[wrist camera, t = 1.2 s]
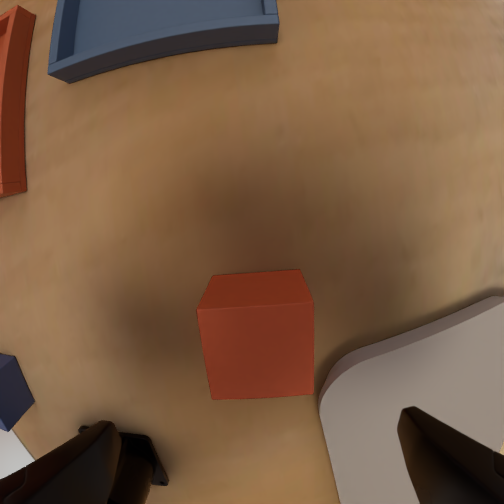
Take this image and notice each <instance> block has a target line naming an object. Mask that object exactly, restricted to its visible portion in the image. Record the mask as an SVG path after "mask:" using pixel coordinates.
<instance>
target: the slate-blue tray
mask: <svg viewBox="0 0 504 504" xmlns="http://www.w3.org/2000/svg"><path fill="white" fill-rule="evenodd" d="M278 30H279V17H278V10H277V3H276V0H58V2H57V7H56V13H55V18H54V24H53V30H52V37H51V45H50V53H49V63H48V65H49V66H48V75H50V76H53V77H55V78H58V79H60V80H62V81H65V82H67V83H72V82H75V81H78V80H81V79H83V78H86V77H89V76H93V75H96V74H99V73H102V72H105V71H109V70H112V69H116V68H119V67H123V66H127V65H131V64H134V63H138V62H143V61H147V60H151V59H156V58H160V57H165V56H170V55H175V54H181V53H187V52H193V51H199V50H206V49H213V48H221V47H230V46H239V45H251V44H266V43H277V38H278Z"/></svg>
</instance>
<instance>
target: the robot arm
mask: <svg viewBox="0 0 504 504" xmlns="http://www.w3.org/2000/svg"><path fill="white" fill-rule="evenodd" d="M78 431H79V435H77V436H75V437H74V438H72V439H70V440H69V441H67V442H66V443H64V444H62V445H61V446H59V447H57V448H56V449H54V450H52V451H51V452H49V453H47V454H46V455H44V456H42V457H41V458H39V459H37V460H36V461H34V462H32V463H30V464H29V465H27V466H26V467H23V468H22V469H20V470H18V471H16V472H14V473H12V474H11V475H9V476H7V477H5V478H2V479H0V504H145V503H146V500H147V497H148V493H149V490H150V487H151V484H153V485H161V486H167V485H168V483H169V480H168V478H167V475H166V473H165V471H164V469H163V467H162V464H161V462H160V460H159V458H158V455H157V453H156V451H155V448H154V446H153V444H152V441H151V439H150V438H149V437H148V436H145V435H139V434H131V433H123V432H118V431H117V429H116V427H115V425H114V423H113V422H111V421H104V420H101V421H99V422H97V423H96V424H94V425H93V426H91V427H87V426H80V428H79V429H78ZM397 434H398V437H399V441H400V445H401V449H402V453H403V456H404V460H405V464H406V468H407V471H408V474H409V477H410V479H411V482H412V485H413V487H414V490H415V492H416V495H417V498H418V500H419V503H420V504H504V455H502V454H500V453H498V452H496V451H494V452H493V450H492V449H491V448H489V447H487V446H485V445H483V444H481V443H479V442H478V441H476V440H474V439H472V438H470V437H469V436H467V435H465V434H463V433H461V432H460V431H458V430H456V429H454V428H452V427H451V426H449V425H447V424H445V423H444V422H442V421H440V420H438V419H437V418H435V417H433V416H431V415H430V414H428V413H426V412H425V411H423V410H421V409H419V408H418V407H416V406H410V407H406V408H403V409H402V410H401V413H400V417H399V421H398V425H397Z"/></svg>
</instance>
